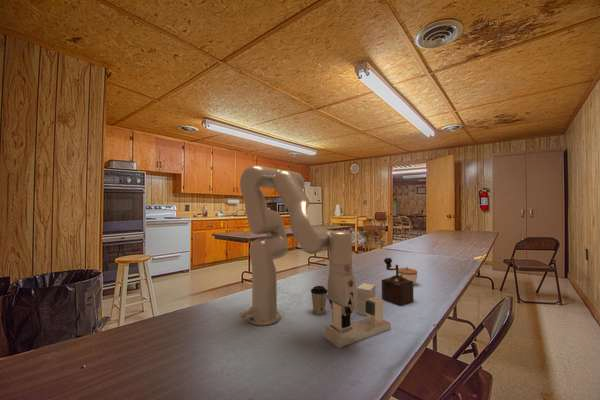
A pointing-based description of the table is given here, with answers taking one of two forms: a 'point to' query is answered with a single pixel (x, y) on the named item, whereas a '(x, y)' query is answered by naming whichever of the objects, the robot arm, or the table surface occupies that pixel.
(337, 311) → the beige orange block
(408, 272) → the lidded jar
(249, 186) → the robot arm
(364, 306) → the small box
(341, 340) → the rail
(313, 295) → the coffee cup
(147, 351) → the table surface
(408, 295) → the manual coffee grinder
